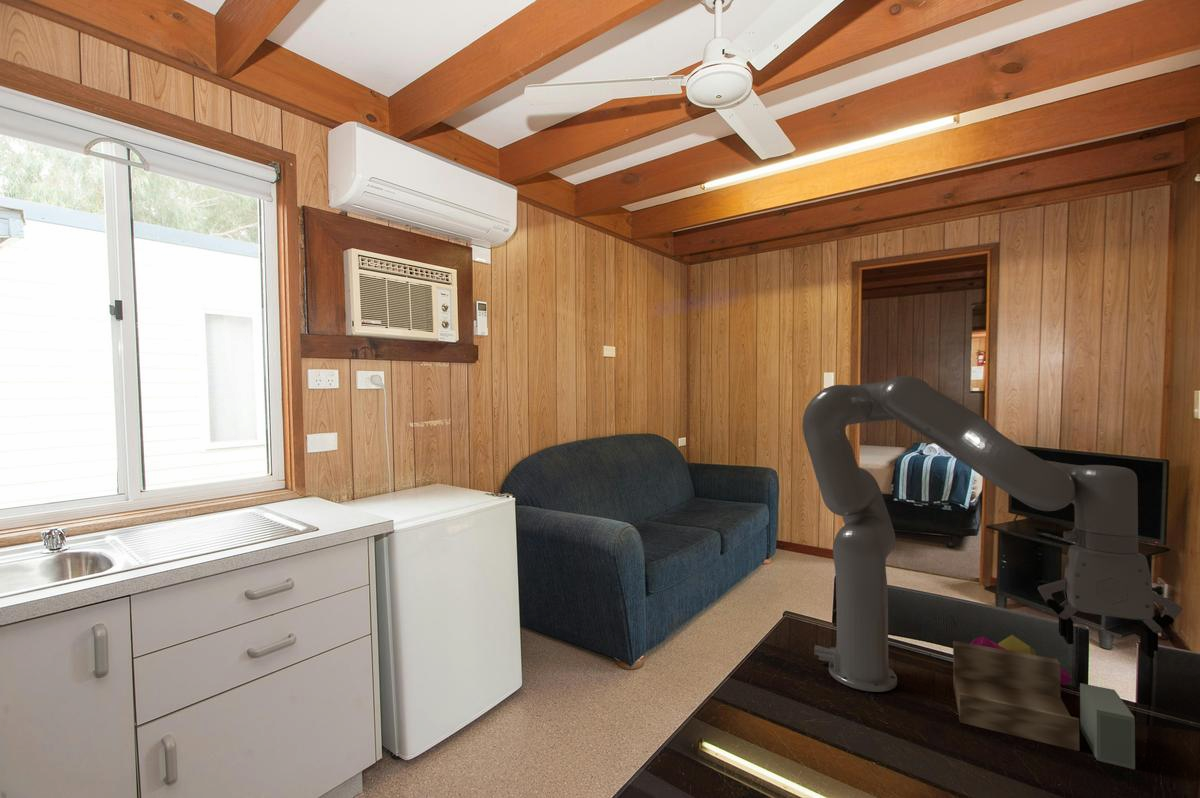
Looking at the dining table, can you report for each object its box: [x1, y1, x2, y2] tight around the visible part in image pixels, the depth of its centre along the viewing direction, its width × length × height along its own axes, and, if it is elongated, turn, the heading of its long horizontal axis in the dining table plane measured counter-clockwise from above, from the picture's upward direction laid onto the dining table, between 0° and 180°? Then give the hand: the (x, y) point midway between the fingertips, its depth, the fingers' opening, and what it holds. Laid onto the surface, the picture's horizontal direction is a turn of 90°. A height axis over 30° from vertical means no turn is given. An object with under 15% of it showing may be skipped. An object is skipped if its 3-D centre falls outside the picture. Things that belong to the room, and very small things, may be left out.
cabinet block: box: [1079, 682, 1136, 770], centre depth 87 cm, size 4×9×8 cm, turn 151°
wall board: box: [952, 640, 1080, 752], centre depth 96 cm, size 16×14×9 cm
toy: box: [969, 634, 1073, 686], centre depth 107 cm, size 10×18×10 cm
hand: (1106, 647), depth 87 cm, fingers open, 9 cm apart
